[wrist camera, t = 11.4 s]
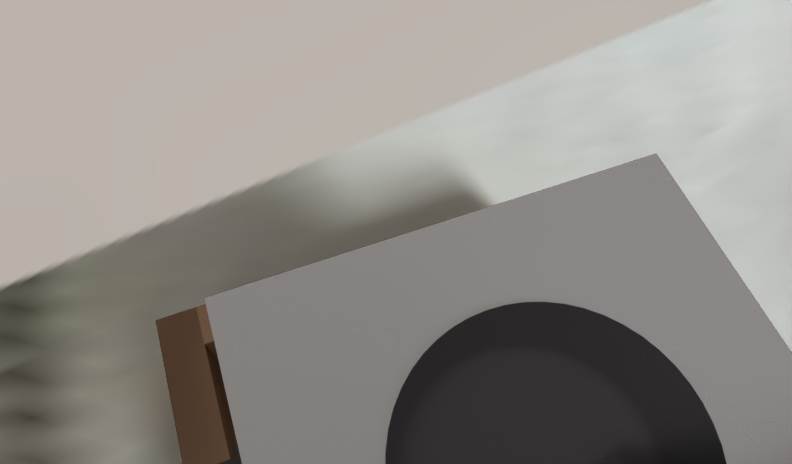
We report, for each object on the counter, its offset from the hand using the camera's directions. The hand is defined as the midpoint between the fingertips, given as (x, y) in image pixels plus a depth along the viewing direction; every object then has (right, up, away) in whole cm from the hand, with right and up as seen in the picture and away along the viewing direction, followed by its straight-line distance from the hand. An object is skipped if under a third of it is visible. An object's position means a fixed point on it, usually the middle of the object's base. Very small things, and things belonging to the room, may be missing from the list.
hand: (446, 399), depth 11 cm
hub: (+1, -4, +3) cm, 5 cm away
